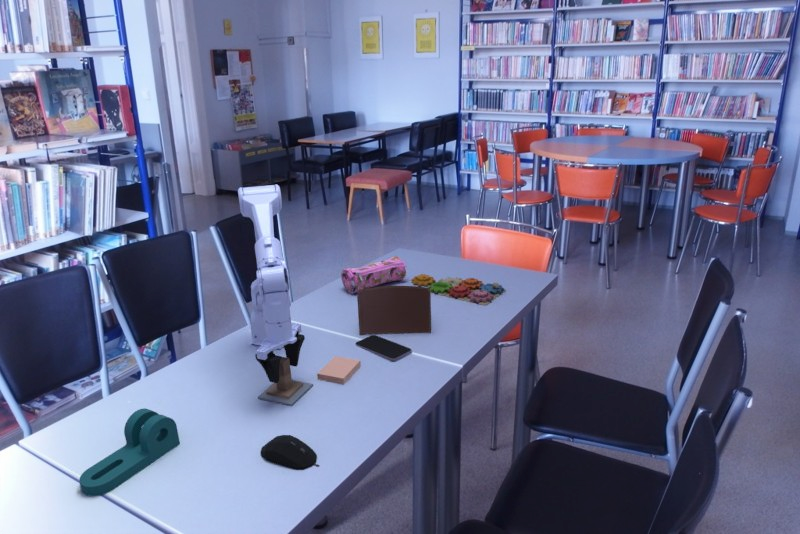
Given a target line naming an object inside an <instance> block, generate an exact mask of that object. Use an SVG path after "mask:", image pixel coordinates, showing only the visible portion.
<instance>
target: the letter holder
mask: <svg viewBox="0 0 800 534" xmlns="http://www.w3.org/2000/svg"><path fill="white" fill-rule="evenodd" d="M431 294H432V293H431V292H430V289H429V288H427V286H418V285H417V286H416V285H415V286H413V285H385V286H384V285H383V286H373V287H370V288H366V289H362V290H359V291H358V292H357V294H356V295H357V297H356V300H357V313H358V316H357V317H358V329H359V330H358V331H359V332H358V333H359V335H360V336H363V335H365V334H369V335H396V334H397V335H399V334H402V335H403V334H404V333H407V334H431V333H432V310H431V309H432V306H431V305H432V304H431V303H432V302H431V301H432V299H431V298H432V297H431V296H432V295H431ZM404 335H405V334H404Z"/></svg>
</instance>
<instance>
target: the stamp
mask: <svg viewBox="0 0 800 534" xmlns="http://www.w3.org/2000/svg"><path fill="white" fill-rule="evenodd" d="M291 369H292V368H291V366H290V360H289V358H286V357H284V356H282V358H281V360H280V365H279V382H278V383H275V384H274V385H273V386H272V387H270V386H269V387H270V388H269V389H268V390H267V391H266V394H267V395H271V396H276V397H280V398H285V399H290V398H291V397H292V396H293V395H294V394H295V393H296V392H297V391H298V390H299V389H300V388H302V387H303V383H301V382H302V381H301V382H296V381H297V380H296V381H292V380H293V379H292V371H291Z"/></svg>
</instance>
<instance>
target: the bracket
mask: <svg viewBox="0 0 800 534" xmlns="http://www.w3.org/2000/svg"><path fill="white" fill-rule="evenodd" d="M123 430H124V431H123V434H124V438H125V445H124V446H122V447H120V448H118V449H117V450H115V451H114V452H112V453H111V454H109V455H107V456H105V458H103V459H101V460H100V461H97V462H96V463H95V464H93V465H92V466H90V467H88V468H87V469H85V470H84V471H83V472H82V473H81V474H80V476H79V485H80V488H81V492H82V494H84V495H85V496H88V497H98V496H103V495H105V494H107V493H111V492H112V491H114V490H115V489H117V488H118V487H119V486H121V485H123V484H124V483H125V482H127V481H128V480H130V479H131V478H133V477H134V476H136V475H137V474H139V473H140V472H141V471H142V470H144V469H147V467H149V466H150V465H151V464H153V463H154V462H156V461H158V460H160V458H162V457H163V456H165V455H166V454H168V453H169V452H171V451H172V450H174V449H175V448H176V447H178V446H179V445H181V442H180V437H179V431H178V426H177V423H176V421H175V420H174V419H173V418H172V417H168V416H166V415H164V414H159V413H158V412H157V411H154V410H151V409H149V408H145V407H144V408H139V409H137V410H135V411H134V412H133V413H132V414H131V415H130V416H129V417H128V418H127V420H126V422H125V425H124V429H123Z"/></svg>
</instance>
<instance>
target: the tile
mask: <svg viewBox="0 0 800 534" xmlns="http://www.w3.org/2000/svg"><path fill="white" fill-rule="evenodd" d="M361 367H362V364H361V360H359V359H354V358H349V357H348V358H347V357H342V356H336V355H335V356H334V357H333V358H331V360H330V361H328V363H326V365H324V366H323V367H322V368H321V369H320V370H319V371H318V372H317V373H316V377H317V380H319V379H320V381H324V380H325V382H330V383H334V382H335V384H339V385H340V384H341V385H344V383H345V384H346V382H348V381H349V379H351V377H352V376H353V375H354V374H355V373H356V372H357V371H358V369H360V368H361Z"/></svg>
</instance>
